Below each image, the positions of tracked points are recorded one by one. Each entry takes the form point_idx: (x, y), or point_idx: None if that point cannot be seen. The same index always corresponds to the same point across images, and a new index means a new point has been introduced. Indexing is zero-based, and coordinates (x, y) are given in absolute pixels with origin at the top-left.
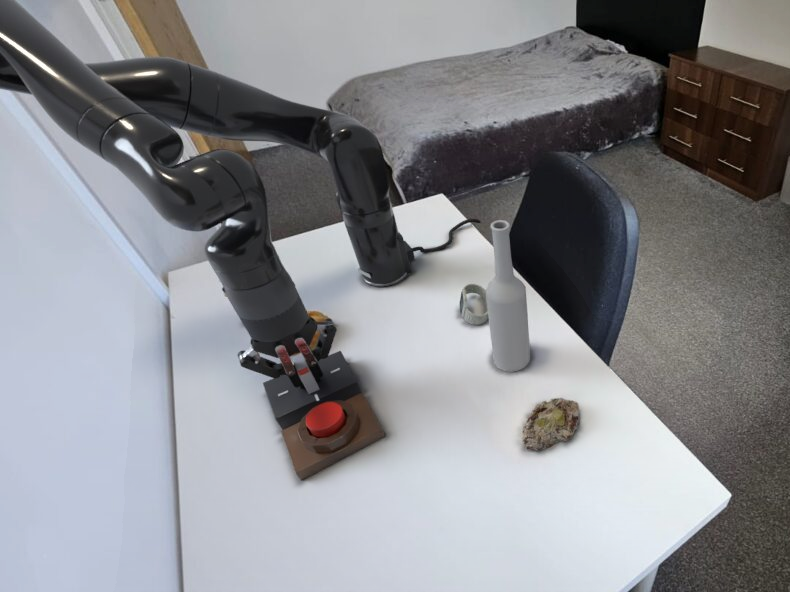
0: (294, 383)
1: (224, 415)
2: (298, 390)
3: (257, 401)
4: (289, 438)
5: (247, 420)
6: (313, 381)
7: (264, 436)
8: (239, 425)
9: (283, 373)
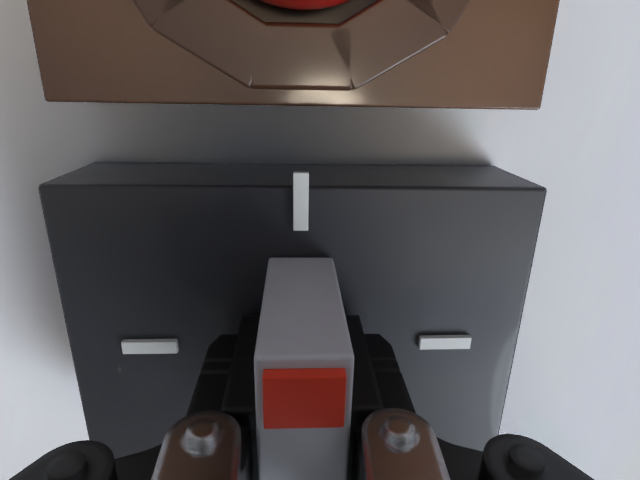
0: (385, 357)
1: (627, 384)
2: (372, 319)
3: (510, 385)
4: (527, 15)
5: (578, 313)
6: (274, 297)
7: (567, 183)
8: (611, 305)
9: (452, 455)
